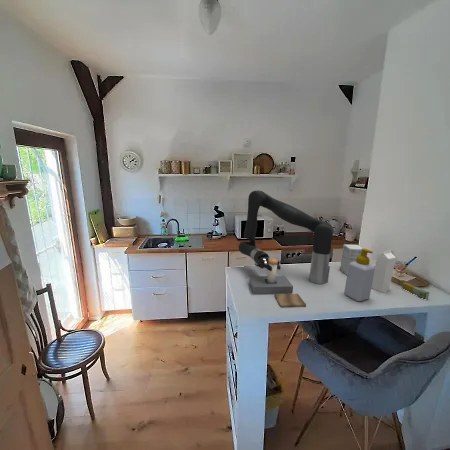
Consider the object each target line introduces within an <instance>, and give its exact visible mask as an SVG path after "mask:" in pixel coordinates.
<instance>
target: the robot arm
mask: <svg viewBox="0 0 450 450" xmlns="http://www.w3.org/2000/svg"><path fill="white" fill-rule="evenodd" d="M247 199H248V200H247V204H248V205H247V215H246V223H245V228H244V232H243V237H244V238H245V239H247V240H249V241H241V242H240V243H239V244H238V246H237V247H238V250H239V252H240V253H241V254H243V255H245V256H246V257H247V256H248V257H249V258H250V259H252V260H253V261H254V266H256V267H258V268H260V269H266V270H267V271H268V270H269V271H272V267H271V266H270V265H269V263H268V260H269V258H270V256H269V254H268V253H267V252H265V251H264V250H262V249H261V248H258V247H257V246H256V235H257V230H258V213H259V210H260V207H262V208H265V209H267V210H268V211H269V210H270V211H271V212H272V213H273V214H274V215H275V216H277V217H278V218H280V219H281V220H282V221H284V222H287V223H289V224H290V225H292V226H293V225H294V226H297V227H300V228H301V227H302V228H305V229H308V230H309V231H311V232H312V233H313V240H312V253H311V262H310V267H309V277H308V279H309V281H310V282H311V283H315V284H318V285H324V284H326V283H329V275H330V270H331V269H330V268H331V266H329V264H330V259H331V250H332V243H333V235H334V233H335V232H334V231H335V230H334V227H333V225H332V224H331V223H329V222H326V221H323V220H321V219H318V218H315V217H313V216H311V215H309V214H308V213H306V212H304V211H302V210H300V209H299V208H296V207H294V206H292V205H290V204H288V203H285V202H283V201H281V200H278V199H276V198H275V197H272V196H271V195H270V194H268V193H266V192H264V191H263V190H252V191H251V192H249V195H248V197H247ZM281 268H282V267H281V265H280V260H279V259H278V264H277V271H281Z"/></svg>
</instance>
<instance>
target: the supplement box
mask: <svg viewBox="0 0 450 450" xmlns="http://www.w3.org/2000/svg"><path fill="white" fill-rule="evenodd" d="M362 248H363V247H362V246H360V245H359V244H345V243H344V244H343V247H342V254H341V259H340V266H339V269H340V271H341V272H342V273H343V274H345V275H346V276H347V273H348V267H349V264H350V263H351V262H354V261H356V259H357V257H358V256H359V255H361V251H362Z"/></svg>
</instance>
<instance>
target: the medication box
mask: <svg viewBox="0 0 450 450" xmlns="http://www.w3.org/2000/svg"><path fill="white" fill-rule="evenodd" d="M402 288H403V289H405V290H407V291H409V292H411V293H412V294H411V293H410V294H411V295H413V294H415V295H417V296H418V297H417V296H416V297H417V298H419V297H420V298H419V299H421V298H423V299H427V300H428V299H429V298H430V297H429V296H430V292H429V291H427V290H424V289H422V288H421V287H418V286H416V285H413V284H410V283H408V282H403V283H402V286H401V289H402ZM403 289H402V290H403ZM405 290H404V291H405ZM407 291H406V292H407ZM409 292H408V293H409ZM415 295H414V296H415ZM423 299H422V300H423Z"/></svg>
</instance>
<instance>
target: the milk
mask: <svg viewBox="0 0 450 450" xmlns="http://www.w3.org/2000/svg"><path fill="white" fill-rule="evenodd" d="M396 259H397V257H396V256H395V255H394V254H393V253H392V249H389V250H384V251H383V252H382V253H380V254H377V256H376V262H375V265H374V267H375V272H374V277H373V282H372V287H371V289H374V290H375V291H378V292H380V293H384V292H388V290H389V291H390V288H391V287H390V286H391V283H392V278H393V273H394V267H395V264H396V263H395V262H396Z"/></svg>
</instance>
